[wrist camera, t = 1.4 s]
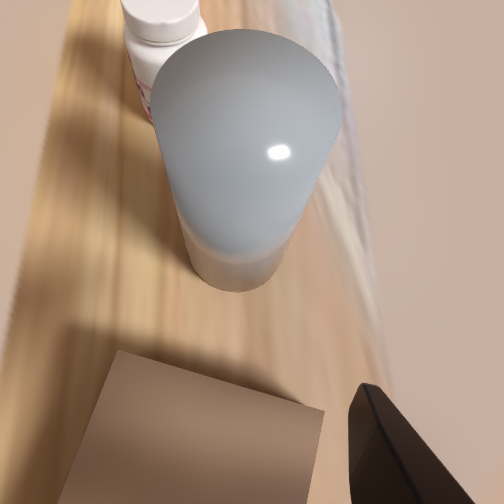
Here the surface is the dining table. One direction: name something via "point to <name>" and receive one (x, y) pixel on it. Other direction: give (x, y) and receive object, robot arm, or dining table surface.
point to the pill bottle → (157, 36)
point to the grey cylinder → (242, 147)
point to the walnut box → (191, 441)
